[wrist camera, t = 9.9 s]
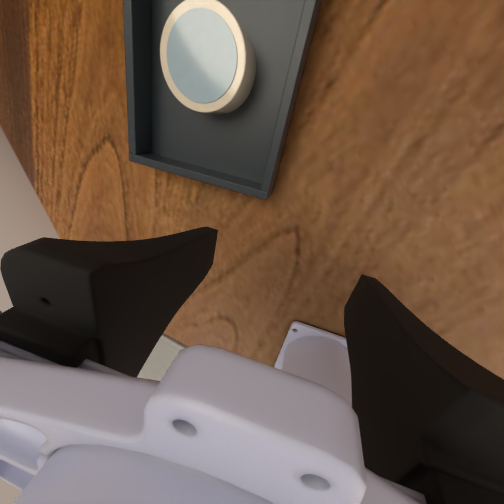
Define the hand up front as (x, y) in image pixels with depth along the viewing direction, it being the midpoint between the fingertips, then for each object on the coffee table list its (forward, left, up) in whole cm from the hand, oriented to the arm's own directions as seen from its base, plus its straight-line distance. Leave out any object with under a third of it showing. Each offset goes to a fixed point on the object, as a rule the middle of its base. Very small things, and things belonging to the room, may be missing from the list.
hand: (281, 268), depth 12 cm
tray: (+8, +8, -9) cm, 15 cm away
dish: (+8, +8, -9) cm, 14 cm away
